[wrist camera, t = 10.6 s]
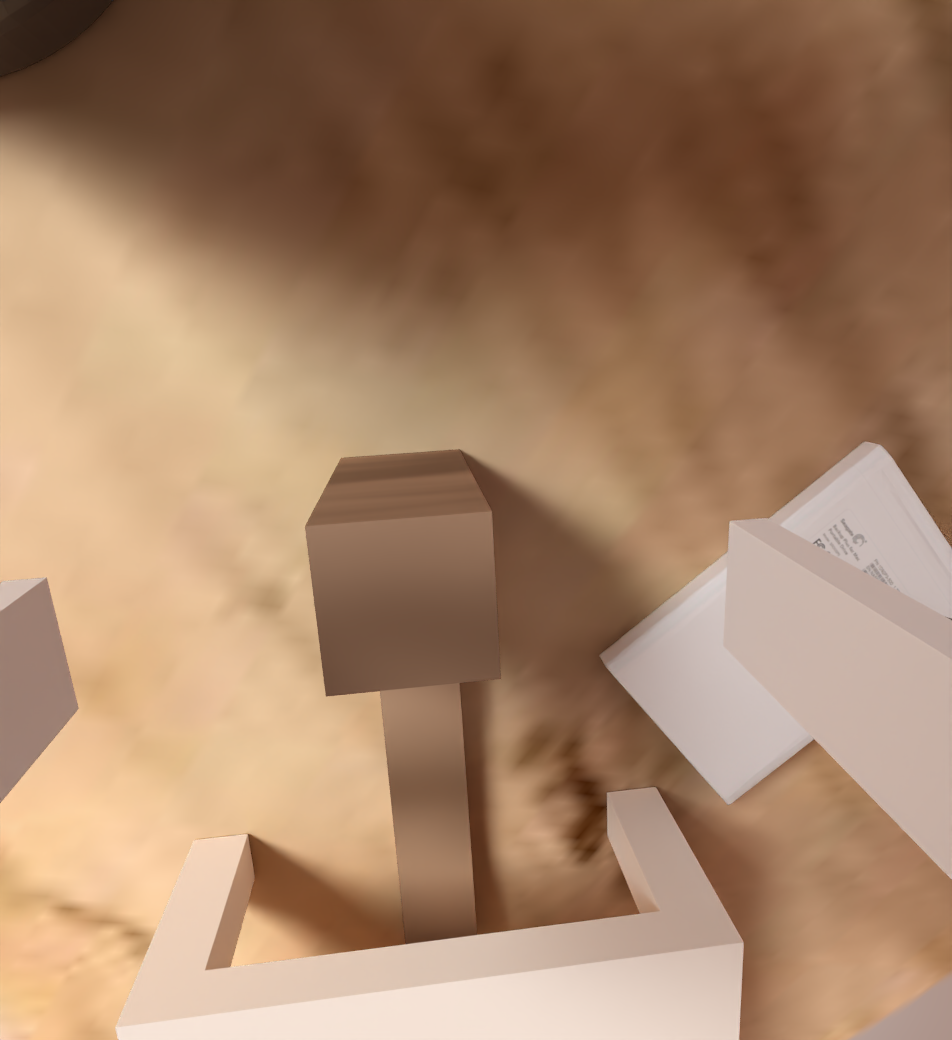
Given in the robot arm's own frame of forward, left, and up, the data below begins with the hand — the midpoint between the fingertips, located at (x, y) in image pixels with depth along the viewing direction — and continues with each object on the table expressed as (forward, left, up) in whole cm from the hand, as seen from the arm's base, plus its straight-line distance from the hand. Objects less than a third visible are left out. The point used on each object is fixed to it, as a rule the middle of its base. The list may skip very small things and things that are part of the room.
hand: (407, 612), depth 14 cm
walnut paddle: (+9, 0, -11) cm, 14 cm away
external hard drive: (+6, +14, -11) cm, 19 cm away
